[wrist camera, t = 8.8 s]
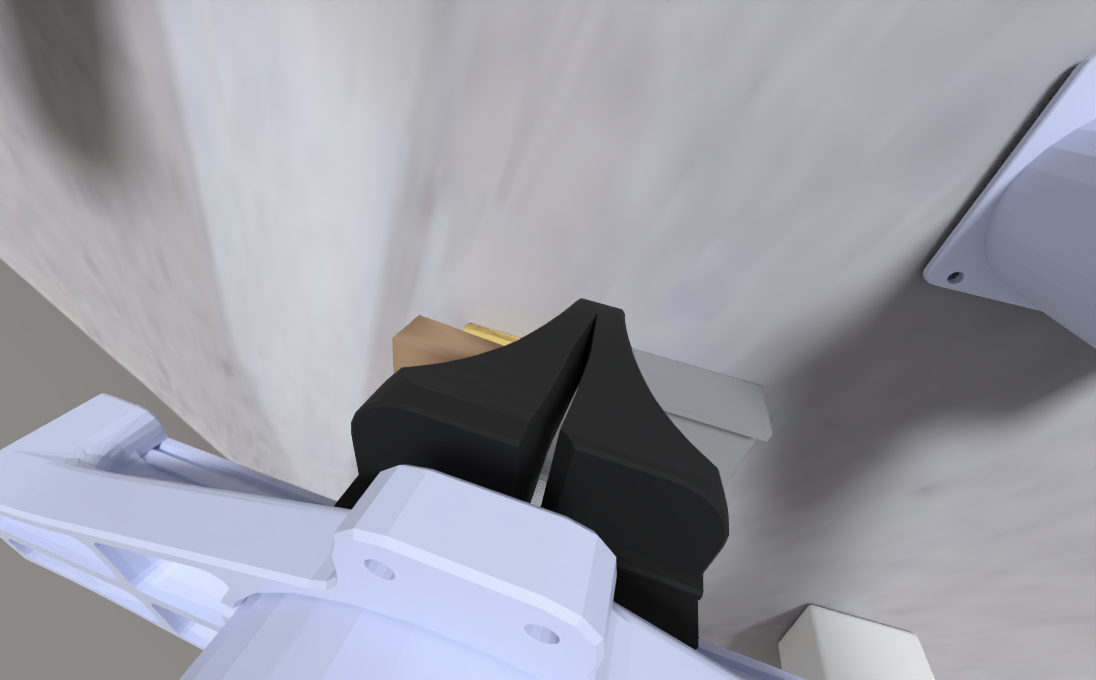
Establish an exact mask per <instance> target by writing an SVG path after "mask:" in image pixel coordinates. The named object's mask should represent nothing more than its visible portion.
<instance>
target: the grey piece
mask: <svg viewBox="0 0 1096 680" xmlns="http://www.w3.org/2000/svg"><path fill="white" fill-rule="evenodd" d="M632 351H633V354H634V357H635V359H636V362H637V364H638V367H639V369H640V371H641V373H642V376H643V378H644V380H645V382H646V384H647V385H648V387H649V389H650V391H651V393H652V394H653V396H654V397H655V399H656V401H657V402H658V403H659V405H660V406H661V408H662V409H663V410H664V412H665V413H666V414H667V416H668V417H669V418H670V420H671V421H672V422H673V423H674V424H675V426H676V427H677V428H678V429H679V430H680V431H681V432H682V433H683V435H684V436H685V437H686V438H687V439H688V440H689V441H690V442H691V443H692V444H693V445H694V446H695V447H696V448H697V449H698V450H699V451H700V452H701V453H702V454H703V455H704V456H706V457H707V458H708V459H709V460H710V461H711V462H712V463H713V464H714V465H715V466H716V467H717V468H718V470H719V473H720V477H721V481H722V485H723V488H724V487H725V485H726V484H727V482H728V481H729V479H730V478H731V476H732V475H733V473H734V472H735V470H736V469H737V467H738V466H739V464H740V463H741V461H742V460H743V458H744V457H745V455H746V454H747V452H748V451H749V449H750V448H751V446H752V445H753V443H754V442H755V440H756V439H758V440H761V441H765V442H768V440H769V439H770V437H771V436H772V434H773V432H772V428H771V423H770V419H769V414H768V410H767V405H766V401H765V396H764V392H763V388H762V386H760V385H757V384H753V383H750V382H746V381H743V380H739V379H736V378H732V377H729V376H725V375H722V374H718V373H715V372H711V371H708V370H704V369H701V368H697V367H694V366H691V365H687V364H684V363H680V362H677V361H673V360H670V359H666V358H663V357H659V356H656V355H652V354H649V353H645V352H642V351H638V350H635V349H632ZM577 389H578V387H577ZM576 391H577V390H576ZM575 394H576V392H575ZM575 394H574V396H575ZM574 396H573V398H572V400H571V403H572V401H573V399H574ZM571 403H570V405H569V407H568V409H567V411H566V413H565V415H564V417H563V420H562V422H561V424H560V426H559V428H558V430H557V432H556V435H555V437H554V439H553V441H552V443H551V446H550V448H549V451H548V453H547V456H546V459H545V462H544V465H543V468H542V470H541V473H540V476H539V479H540V480H543V481H546V482H547V480H548V476H549V472H550V468H551V464H552V460H553V456H554V452H555V447H556V443H557V439H558V435H559V431H560V428H561V426H562V424H563V422H564V419H565V417H566V415H567V413H568V410H569V408H570V406H571Z"/></svg>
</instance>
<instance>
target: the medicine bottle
mask: <svg viewBox="0 0 1096 680" xmlns="http://www.w3.org/2000/svg"><path fill="white" fill-rule="evenodd" d="M778 647H779V653H780V660H781V666H782V670H784V671H787V672H790V673H792V674H795V675H798V676H800V677H803V678H806V679H808V680H935V679H934V676H933V674H932V671H931V669H930V666H929V664H928V661H927V659H926V656H925V654H924V651H923V649H922V646H921V644H920V641H919V639H918V637H917V636H916V635H915V634H913V633H911V632H908V631H904V630H901V629H897V628H894V627H890V626H886V625H883V624H879V623H876V622H872V621H869V620H865V619H862V618H858V617H855V616H851V615H847V614H844V613H840V612H837V611H833V610H830V609H826V608H823V607H819V606H816V605H809V606H808V607H807V608H806V609H805V610H804V612H803V613H802V614H801V615H800V617H799V618H798V619H797V620H796V622H795V623H794V624H793V625H792V627H791V628H790V629H789V631H788V632H787V633H786V634H785V636H784V637H783V638H782V639H781V641H780V642H779V645H778Z"/></svg>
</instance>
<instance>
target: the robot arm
mask: <svg viewBox="0 0 1096 680" xmlns="http://www.w3.org/2000/svg"><path fill="white" fill-rule="evenodd" d="M954 272H959V274H958V276H957V277H956V278H954V279H951V280H947V278H948V276H949V275H951V274H952V273H954ZM923 277H924V279H925V280H926V281H927V282H928V283H930V284H932V285H935V286H939V287H943V288H947V289H951V290H956V291H960V292H964V293H968V294H972V295H976V296H980V297H985V298H989V299H993V300H997V301H1001V302H1005V303H1010V304H1014V305H1018V306H1022V307H1026V308H1030V309H1034V310H1039V311H1042V312H1044V313H1045V314H1047V315H1048V316H1049V317H1051V318H1052V319H1054V320H1055V321H1057V322H1058V323H1059V324H1061V325H1062V326H1064V327H1065V328H1067V329H1068V330H1069V331H1071V332H1072V333H1074V334H1075V335H1077V336H1078V337H1079V338H1081V339H1082V340H1084V341H1085V342H1087V343H1088V344H1089V345H1091V346H1092V347H1094V348H1095V349H1096V53H1094V54H1091V55H1090V56H1088V57H1086V58H1085V59H1083V60H1082V61H1081V62H1080V63H1079V64H1078V65H1077V66H1076V68H1075V69H1074V70H1073V72H1072V73H1071V74H1070V76H1069V77H1068V78H1067V80H1066V81H1065V82H1064V84H1063V85H1062V86H1061V88H1060V89H1059V90H1058V92H1057V93H1056V94H1055V96H1054V97H1053V98H1052V100H1051V101H1050V102H1049V104H1048V105H1047V106H1046V108H1045V109H1044V110H1043V112H1042V113H1041V114H1040V116H1039V117H1038V118H1037V120H1036V121H1035V122H1034V124H1033V125H1032V126H1031V128H1030V129H1029V130H1028V132H1027V133H1026V134H1025V136H1024V137H1023V138H1022V140H1021V141H1020V142H1019V144H1018V145H1017V146H1016V148H1015V149H1014V150H1013V152H1012V153H1011V154H1010V156H1009V157H1008V158H1007V160H1006V161H1005V162H1004V164H1003V165H1002V166H1001V168H1000V169H999V170H998V172H997V173H996V174H995V176H994V177H993V178H992V180H991V181H990V182H989V183H988V185H987V186H986V187H985V189H984V190H983V191H982V193H981V194H980V195H979V197H978V198H977V199H976V201H975V202H974V203H973V205H972V206H971V207H970V209H969V210H968V211H967V213H966V214H965V215H964V217H963V218H962V219H961V221H960V222H959V223H958V225H957V226H956V227H955V229H954V230H953V231H952V233H951V234H950V235H949V237H948V238H947V239H946V241H945V242H944V243H943V245H942V246H941V247H940V249H939V250H938V251H937V253H936V254H935V255H934V257H933V258H932V259H931V261H930V262H929V263H928V265H927V266H926V267H925V269H924V271H923ZM577 387H578V389H577ZM576 390H577V391H576ZM575 392H576V394H575ZM574 394H575V396H574ZM573 396H574V399H573V401H572V403H571V400H572V398H573ZM570 403H571V406H570V408H569V410H568V413H567V415H566V417H565V419H564V422H563V424H562V426H561V428H560V431H559V435H558V439H557V443H556V447H555V452H554V456H553V460H552V464H551V468H550V472H549V476H548V480H547V484H546V488H545V492H544V496H543V500H542V504H541V507H538V506H535V505H533V504H530V503H531V500H532V497H533V494H534V491H535V488H536V485H537V482H538V479H539V476H540V473H541V470H542V468H543V465H544V462H545V459H546V456H547V453H548V451H549V448H550V446H551V443H552V441H553V439H554V437H555V435H556V432H557V430H558V428H559V426H560V424H561V422H562V420H563V417H564V415H565V413H566V411H567V409H568V407H569V405H570ZM351 435H352V441H353V446H354V451H355V457H356V462H357V467H358V473H359V475H358V477H357V478H356V479H355V480H354V481H353V483H352V484H351V485H350V486H349V488H348V489H347V490H346V491H345V493H344V494H343V495H342V496H341V498H340V499H339V500H338V501H335V500H332V499H330V498H327V497H324V496H322V495H319V494H316V493H314V492H311V491H308V490H306V489H303V488H300V487H298V486H295V485H293V484H290V483H287V482H285V481H282V480H279V479H277V478H274V477H271V476H269V475H266V474H263V473H261V472H258V471H256V470H253V469H250V468H248V467H245V466H242V465H240V464H237V463H234V462H232V461H229V460H226V459H224V458H221V457H218V456H216V455H213V454H210V453H208V452H205V451H203V450H200V449H197V448H194V447H192V446H189V445H187V444H184V443H181V442H179V441H176V440H173V439H171V438H168V437H167V432H166V430H165V428H164V426H163V424H162V422H161V421H160V420H159V418H158V417H157V416H156V415H155V414H153V413H152V412H151V411H150V410H148V409H146V408H144V407H142V406H139V405H137V404H134V403H131V402H128V401H126V400H123V399H120V398H117V397H115V396H112V395H109V394H100V395H98V396H96V397H95V398H93V399H91V400H89V401H87V402H86V403H84V404H82V405H80V406H79V407H77V408H75V409H73V410H71V411H69V412H68V413H66V414H64V415H62V416H61V417H59V418H57V419H56V420H53V421H52V422H50V423H48V424H46V425H44V426H43V427H41V428H39V429H37V430H36V431H34V432H32V433H30V434H29V435H27V436H25V437H23V438H22V439H19V440H18V441H16V442H14V443H12V444H11V445H9V446H7V447H5V448H4V449H2V450H0V537H1V538H2V539H3V540H4V541H5V542H6V543H8V544H9V545H10V546H11V547H12V548H13V549H15V550H16V551H17V552H18V553H19V554H21V555H22V556H23V557H24V558H25V559H27V560H29V561H31V562H34V563H36V564H38V565H40V566H42V567H44V568H46V569H48V570H51V571H53V572H55V573H57V574H59V575H61V576H63V577H65V578H67V579H69V580H71V581H73V582H75V583H77V584H79V585H81V586H83V587H85V588H87V589H89V590H91V591H93V592H95V593H97V594H99V595H101V596H103V597H105V598H107V599H109V600H111V601H113V602H114V603H117V604H118V605H120V606H122V607H124V608H126V609H128V610H130V611H131V612H133V613H135V614H137V615H139V616H141V617H143V618H144V619H146V620H149V621H150V622H152V623H154V624H156V625H157V626H160V627H161V628H163V629H165V630H167V631H169V632H171V633H173V634H174V635H176V636H178V637H180V638H182V639H184V640H185V641H187V642H189V643H191V644H193V645H195V646H196V647H198V648H200V649H202V650H203V652H202V653H201V654H200V655H199V657H198V658H197V659H196V660H195V661H194V663H193V664H192V665H191V666H190V667H189V669H188V670H187V671H186V672H185V673H184V675H183V676H182V677H181V678H180V679H179V680H808V679H806V678H803V677H800V676H798V675H795V674H792V673H790V672H787V671H784V670H782V669H779V668H776V667H774V666H771V665H769V664H766V663H763V662H761V661H758V660H755V659H753V658H750V657H747V656H745V655H742V654H739V653H737V652H734V651H732V650H729V649H726V648H724V647H721V646H718V645H716V644H713V643H710V642H708V641H705V640H702V639H700V638H698V600H700V599H701V598H702V596H703V573H704V571H705V570H706V569H707V568H708V566H709V565H710V564H711V562H712V561H713V560H714V559H715V557H716V556H717V555H718V553H719V552H720V551H721V549H722V548H723V547H724V545H725V543H726V541H727V538H728V536H729V516H728V508H727V502H726V498H725V493H724V489H723V485H722V481H721V477H720V473H719V470H718V468H717V467H716V466H715V465H714V464H713V463H712V462H711V461H710V460H709V459H708V458H707V457H706V456H704V455H703V454H702V453H701V452H700V451H699V450H698V449H697V448H696V447H695V446H694V445H693V444H692V443H691V442H690V441H689V440H688V439H687V438H686V437H685V436H684V435H683V433H682V432H681V431H680V430H679V429H678V428H677V427H676V426H675V424H674V423H673V422H672V421H671V420H670V418H669V417H668V416H667V414H666V413H665V412H664V410H663V409H662V408H661V406H660V405H659V403H658V402H657V401H656V399H655V397H654V396H653V394H652V393H651V391H650V389H649V387H648V385H647V384H646V382H645V380H644V378H643V376H642V373H641V371H640V369H639V367H638V364H637V362H636V359H635V357H634V354H633V351H632V348H631V345H630V341H629V338H628V334H627V329H626V324H625V313H624V312H623V310H622V309H619V308H615V307H611V306H608V305H604V304H601V303H597V302H593V301H590V300H586V299H582V298H581V299H579V300H577V301H576V302H575V303H574V304H572V305H571V306H570V307H569V308H568V309H566V310H565V311H564V312H562V313H561V314H560V315H558V316H557V317H555V318H554V319H552V320H551V321H550V322H548V323H547V324H545V325H544V326H542V327H540V328H538V329H537V330H535V331H533V332H532V333H530V334H528V335H526V336H525V337H523V338H521V339H519V340H517V341H514V342H512V343H510V344H508V345H505V346H503V347H500V348H497V349H494V350H491V351H487V352H484V353H481V354H478V355H475V356H471V357H467V358H463V359H458V360H453V361H448V362H443V363H436V364H428V365H420V366H411V367H401V368H400V369H399V370H398V371H397V372H396V373H395V374H393V375H392V376H391V377H390V378H389V379H387V380H386V381H385V382H384V383H383V384H382V385H381V386H380V387H379V388H378V389H377V390H376V392H375V393H374V394H373V395H372V396H371V397H370V398H369V399H368V400H367V401H366V402H365V403H364V404H363V405H362V406H361V407H360V408H359V409H358V410H357V411H356V413H355V415H354V417H353V419H352V422H351Z"/></svg>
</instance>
